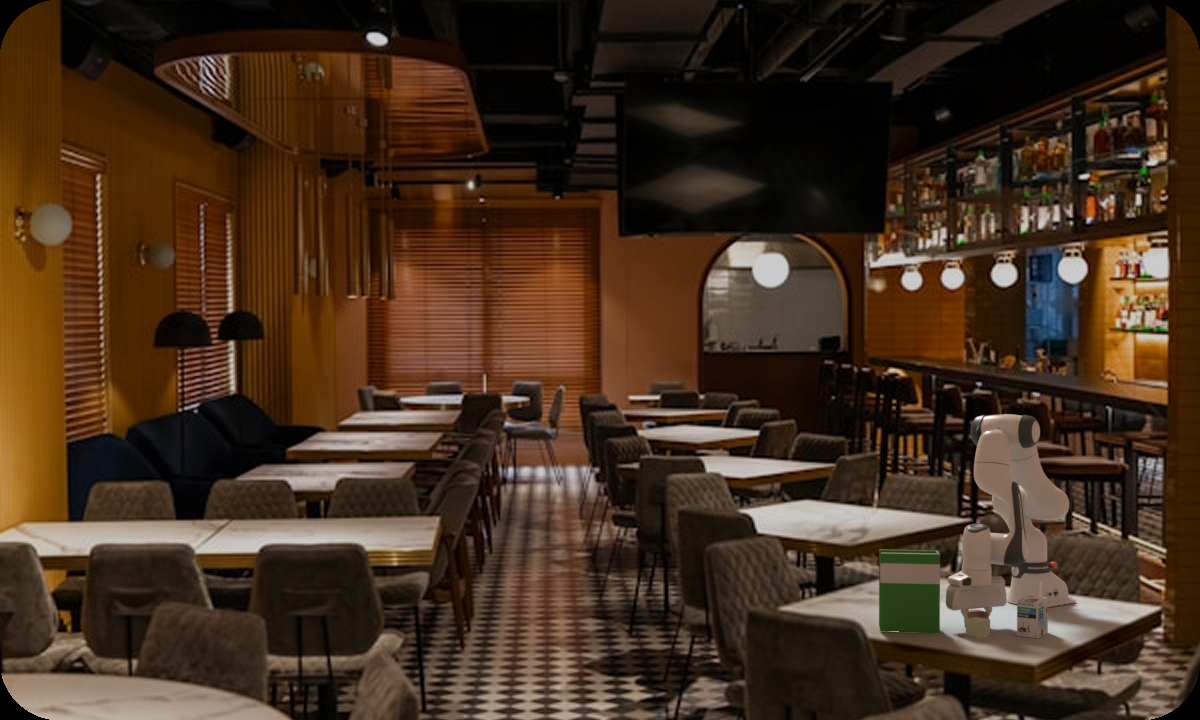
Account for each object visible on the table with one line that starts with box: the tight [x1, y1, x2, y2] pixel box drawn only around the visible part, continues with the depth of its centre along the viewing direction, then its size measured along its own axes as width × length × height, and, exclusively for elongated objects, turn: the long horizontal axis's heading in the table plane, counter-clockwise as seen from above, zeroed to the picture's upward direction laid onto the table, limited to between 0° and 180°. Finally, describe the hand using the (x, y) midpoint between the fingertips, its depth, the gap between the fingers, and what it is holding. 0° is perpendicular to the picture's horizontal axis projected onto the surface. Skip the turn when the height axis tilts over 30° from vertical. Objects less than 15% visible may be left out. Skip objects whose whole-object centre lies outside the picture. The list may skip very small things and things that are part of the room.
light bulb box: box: [1016, 595, 1049, 639], centre depth 441 cm, size 11×7×11 cm, turn 148°
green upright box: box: [878, 548, 941, 634], centre depth 447 cm, size 18×7×24 cm, turn 82°
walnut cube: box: [964, 609, 988, 628], centre depth 450 cm, size 5×5×5 cm
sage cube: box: [965, 617, 991, 639], centre depth 440 cm, size 5×5×5 cm
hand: (976, 622), depth 450 cm, fingers closed on walnut cube, 5 cm apart
